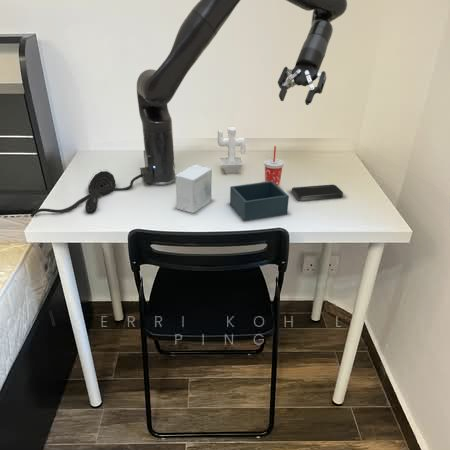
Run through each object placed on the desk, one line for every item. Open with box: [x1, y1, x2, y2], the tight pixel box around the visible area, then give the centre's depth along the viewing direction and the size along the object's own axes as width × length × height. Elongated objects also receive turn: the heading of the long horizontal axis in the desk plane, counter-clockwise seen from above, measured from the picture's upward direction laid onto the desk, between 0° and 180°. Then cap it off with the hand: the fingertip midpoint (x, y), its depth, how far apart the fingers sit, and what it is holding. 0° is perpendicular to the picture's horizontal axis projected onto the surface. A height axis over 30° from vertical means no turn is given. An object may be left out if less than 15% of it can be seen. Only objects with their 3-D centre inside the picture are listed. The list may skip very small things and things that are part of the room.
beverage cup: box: [263, 145, 285, 188], centre depth 144 cm, size 6×6×14 cm
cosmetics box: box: [175, 164, 213, 214], centre depth 136 cm, size 10×6×10 cm, turn 151°
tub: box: [229, 181, 290, 222], centre depth 135 cm, size 14×12×6 cm
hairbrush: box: [84, 169, 116, 215], centre depth 142 cm, size 8×4×25 cm
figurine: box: [217, 125, 246, 175], centre depth 156 cm, size 7×9×15 cm
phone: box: [291, 184, 344, 202], centre depth 145 cm, size 8×1×15 cm
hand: (293, 101), depth 142 cm, fingers open, 8 cm apart
